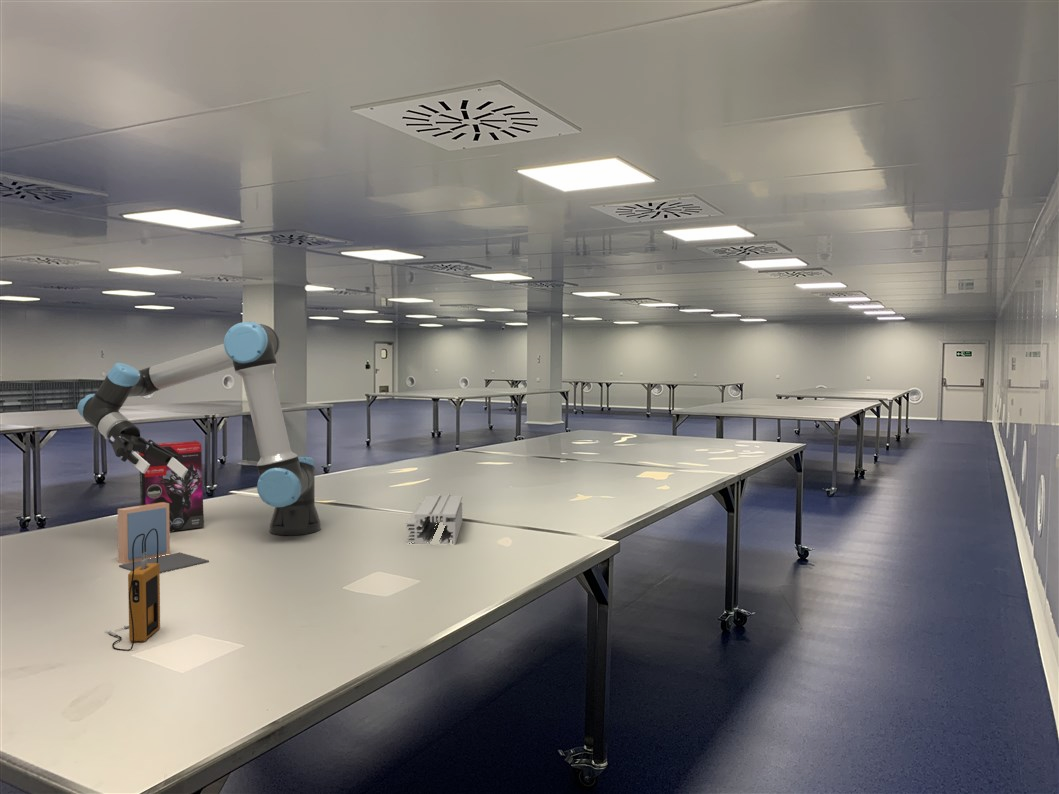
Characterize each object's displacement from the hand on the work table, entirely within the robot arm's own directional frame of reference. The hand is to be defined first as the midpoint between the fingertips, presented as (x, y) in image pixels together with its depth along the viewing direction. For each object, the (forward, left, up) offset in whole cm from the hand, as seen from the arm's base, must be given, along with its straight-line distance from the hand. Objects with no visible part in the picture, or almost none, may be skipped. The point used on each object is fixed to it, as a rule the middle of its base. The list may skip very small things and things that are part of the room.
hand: (166, 471), depth 198 cm
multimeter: (0, +65, -23) cm, 69 cm away
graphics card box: (+2, -30, -23) cm, 37 cm away
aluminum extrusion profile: (-75, -1, -23) cm, 78 cm away
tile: (+5, +4, -22) cm, 23 cm away
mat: (-1, +12, -22) cm, 26 cm away
